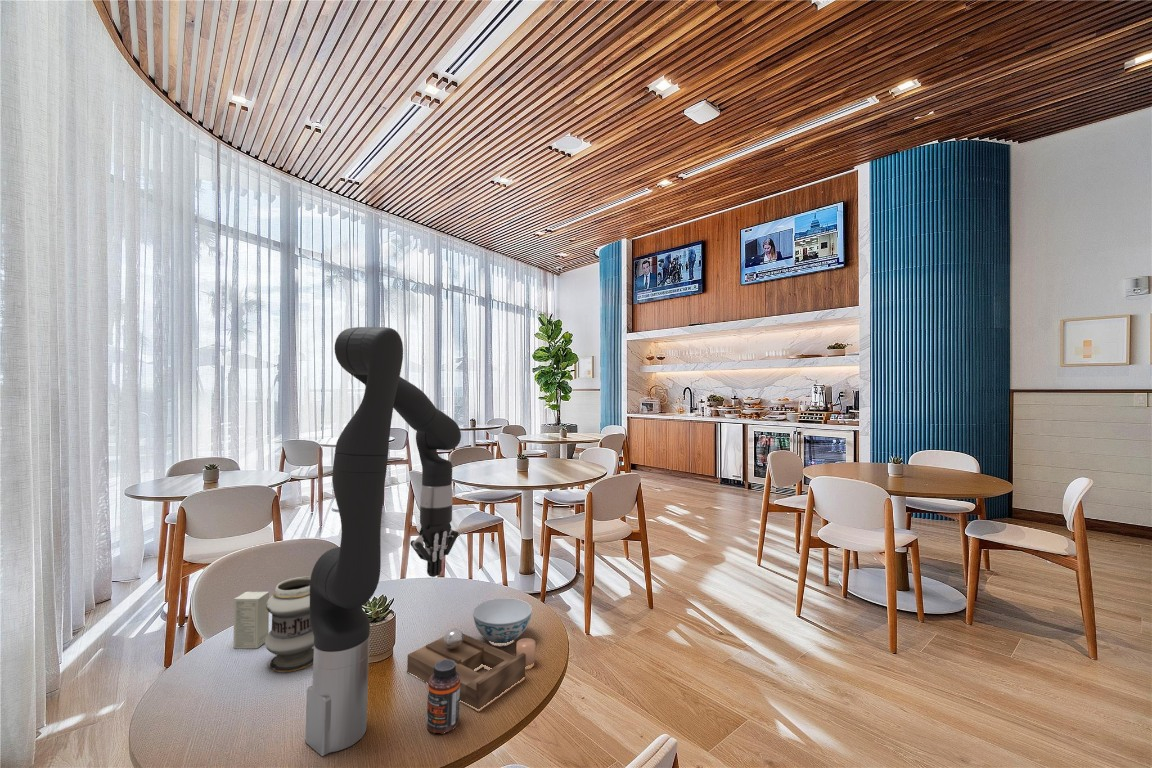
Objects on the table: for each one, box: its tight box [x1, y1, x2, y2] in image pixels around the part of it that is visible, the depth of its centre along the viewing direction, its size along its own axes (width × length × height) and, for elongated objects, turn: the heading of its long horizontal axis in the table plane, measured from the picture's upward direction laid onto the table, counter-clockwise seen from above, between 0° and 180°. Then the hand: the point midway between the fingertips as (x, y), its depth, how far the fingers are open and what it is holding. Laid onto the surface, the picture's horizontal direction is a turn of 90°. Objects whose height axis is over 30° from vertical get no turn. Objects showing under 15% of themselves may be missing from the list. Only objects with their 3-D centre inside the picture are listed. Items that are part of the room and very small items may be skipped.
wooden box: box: [406, 633, 526, 709], centre depth 106 cm, size 14×23×6 cm, turn 55°
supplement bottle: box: [426, 659, 460, 734], centre depth 90 cm, size 6×6×11 cm
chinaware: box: [472, 597, 533, 643], centre depth 122 cm, size 15×15×8 cm
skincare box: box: [233, 591, 270, 650], centre depth 118 cm, size 6×4×12 cm
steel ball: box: [443, 627, 464, 649], centre depth 110 cm, size 4×4×4 cm
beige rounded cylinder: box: [515, 637, 536, 666], centre depth 111 cm, size 4×4×5 cm
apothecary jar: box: [264, 576, 314, 673], centre depth 111 cm, size 12×12×18 cm
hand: (434, 575), depth 115 cm, fingers closed
